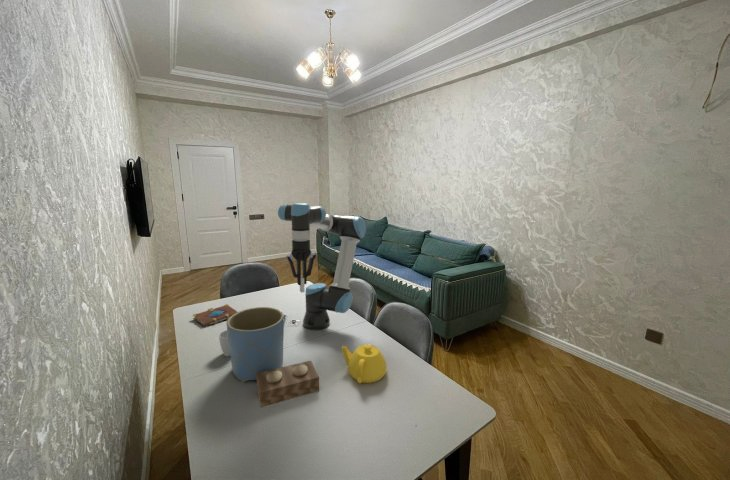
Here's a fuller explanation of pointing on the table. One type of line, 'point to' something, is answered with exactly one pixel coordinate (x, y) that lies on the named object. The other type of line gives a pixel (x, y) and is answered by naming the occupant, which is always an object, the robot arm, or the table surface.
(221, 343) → the cup
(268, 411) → the table surface
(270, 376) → the peg
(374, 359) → the teapot
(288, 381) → the socket block
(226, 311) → the book
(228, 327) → the planter
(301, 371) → the peg
